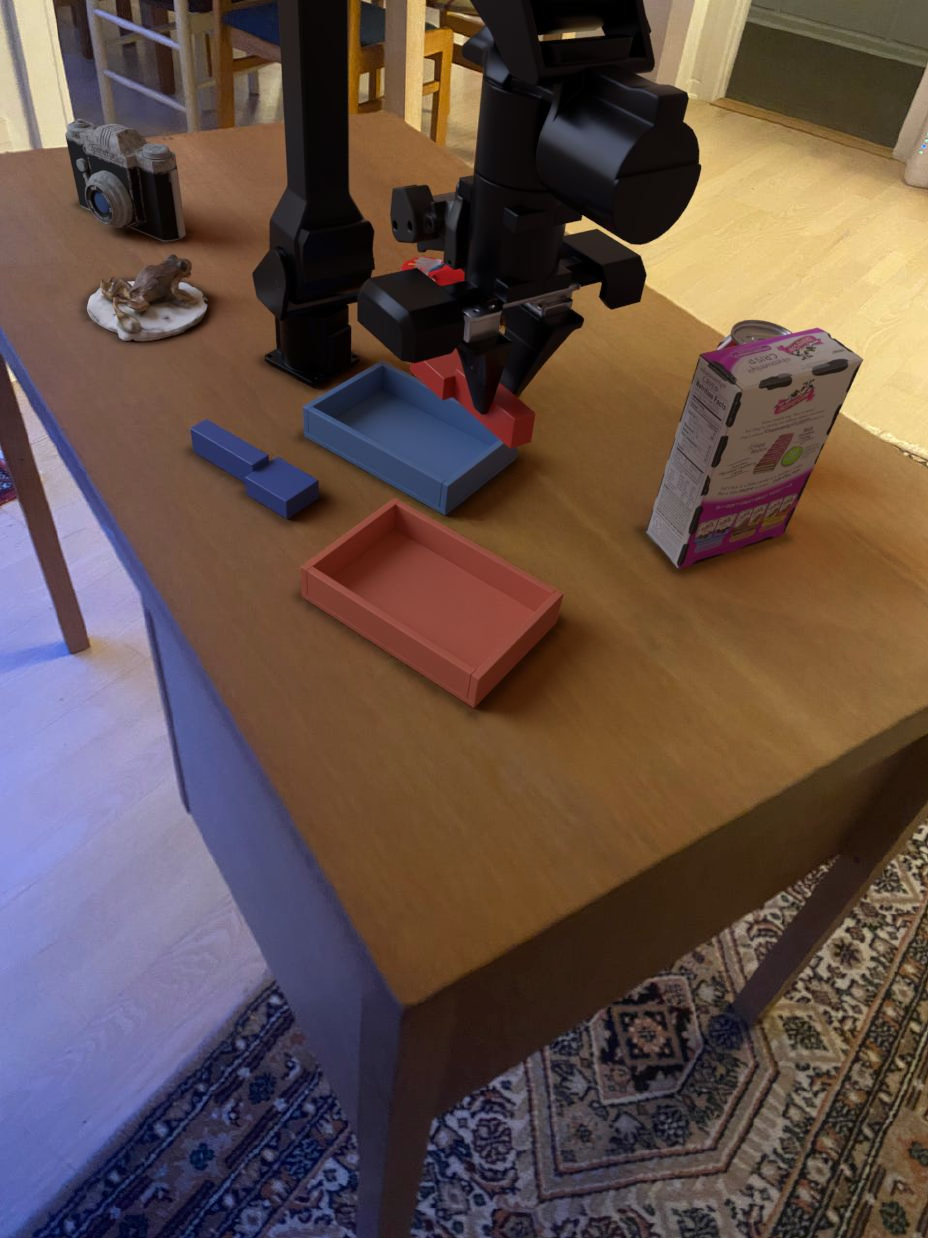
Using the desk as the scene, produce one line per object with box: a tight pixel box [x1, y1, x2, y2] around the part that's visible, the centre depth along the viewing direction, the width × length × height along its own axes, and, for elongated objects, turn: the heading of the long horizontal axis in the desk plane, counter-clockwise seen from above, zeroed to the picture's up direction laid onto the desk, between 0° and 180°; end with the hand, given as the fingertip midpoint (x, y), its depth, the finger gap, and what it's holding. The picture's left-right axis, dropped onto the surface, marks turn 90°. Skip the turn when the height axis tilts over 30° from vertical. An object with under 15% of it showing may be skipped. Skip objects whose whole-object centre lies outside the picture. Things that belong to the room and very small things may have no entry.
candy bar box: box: [645, 327, 864, 570], centre depth 67 cm, size 11×5×16 cm, turn 118°
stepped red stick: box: [409, 348, 537, 449], centre depth 63 cm, size 11×4×2 cm, turn 34°
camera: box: [64, 118, 187, 243], centre depth 96 cm, size 15×7×10 cm, turn 58°
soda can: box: [715, 319, 793, 350], centre depth 76 cm, size 7×7×12 cm
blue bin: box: [302, 360, 519, 516], centre depth 76 cm, size 15×10×3 cm
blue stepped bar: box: [189, 418, 320, 520], centre depth 71 cm, size 11×4×2 cm, turn 54°
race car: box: [399, 256, 504, 318], centre depth 94 cm, size 13×5×4 cm, turn 60°
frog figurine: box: [86, 254, 208, 342], centre depth 87 cm, size 12×12×4 cm
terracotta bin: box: [300, 497, 565, 709], centre depth 63 cm, size 15×10×3 cm
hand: (492, 407), depth 62 cm, fingers closed on stepped red stick, 2 cm apart
